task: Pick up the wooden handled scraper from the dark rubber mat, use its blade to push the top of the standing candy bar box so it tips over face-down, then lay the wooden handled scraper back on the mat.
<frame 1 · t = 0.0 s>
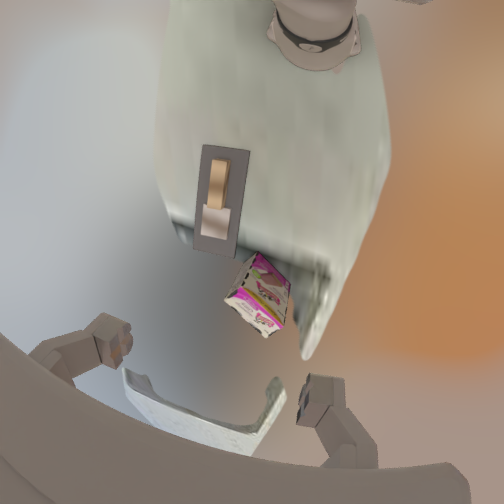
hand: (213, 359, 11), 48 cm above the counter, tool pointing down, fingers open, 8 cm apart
candy bar box: (267, 272, 64), on the counter
wooden handled scraper: (218, 205, 59), point 1 cm above the counter, touching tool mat
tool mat: (219, 202, 59), on the counter
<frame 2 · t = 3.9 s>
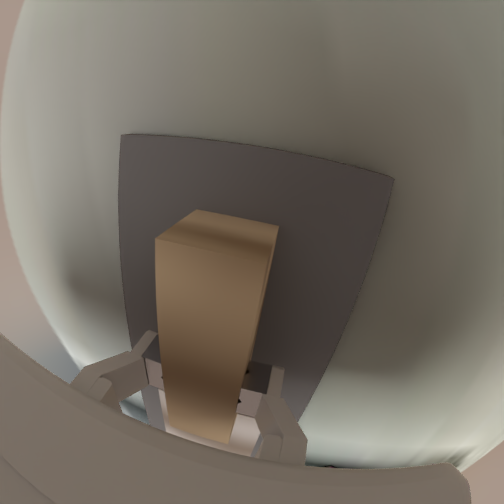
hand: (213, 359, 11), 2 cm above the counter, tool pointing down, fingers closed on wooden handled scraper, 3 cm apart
wooden handled scraper: (215, 393, 14), point 1 cm above the counter, touching gripper, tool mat
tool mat: (218, 380, 14), on the counter
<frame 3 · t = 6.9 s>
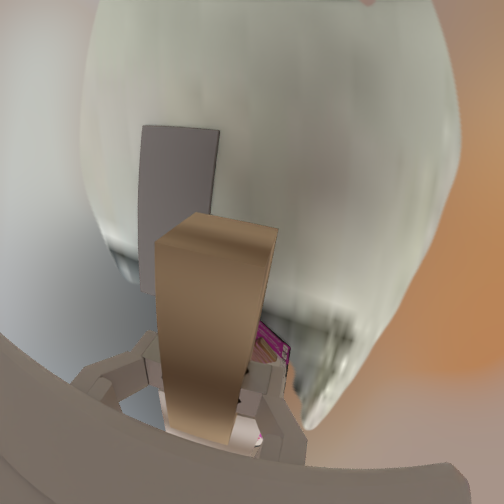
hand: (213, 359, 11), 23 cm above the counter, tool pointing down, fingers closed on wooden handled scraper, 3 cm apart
candy bar box: (254, 330, 39), on the counter
wooden handled scraper: (215, 394, 14), point 22 cm above the counter, touching gripper
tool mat: (172, 221, 35), on the counter
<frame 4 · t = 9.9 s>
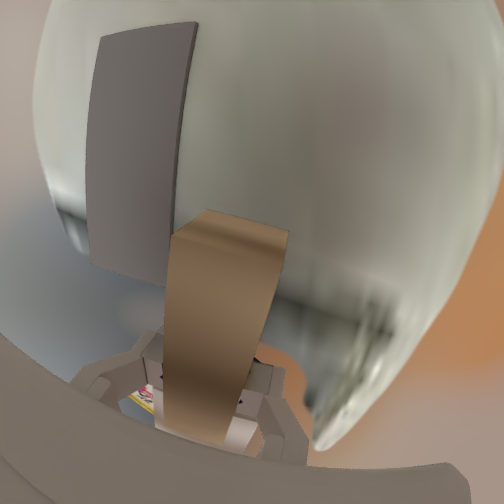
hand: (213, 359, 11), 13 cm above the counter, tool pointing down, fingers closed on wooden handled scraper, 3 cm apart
candy bar box: (225, 351, 25), point 3 cm above the counter
wooden handled scraper: (209, 394, 14), point 12 cm above the counter, touching gripper
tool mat: (128, 155, 22), on the counter
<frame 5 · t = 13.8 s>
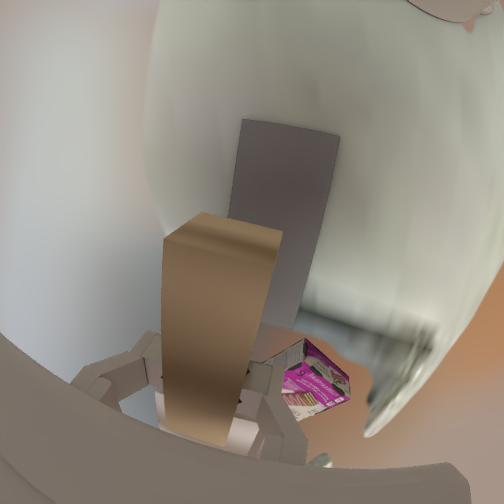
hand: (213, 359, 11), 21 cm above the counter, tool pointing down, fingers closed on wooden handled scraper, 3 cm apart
candy bar box: (330, 369, 34), point 3 cm above the counter
wooden handled scraper: (211, 396, 14), point 20 cm above the counter, touching gripper
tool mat: (271, 234, 31), on the counter
when the fingers open (3 cm above the counter, at t = 17.1 s): wooden handled scraper drops 2 cm, resting on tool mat.
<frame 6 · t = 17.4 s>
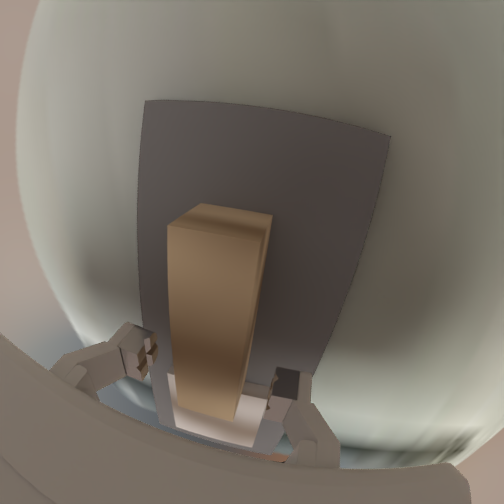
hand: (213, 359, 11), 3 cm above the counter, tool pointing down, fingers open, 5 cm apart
wooden handled scraper: (220, 375, 15), point 1 cm above the counter, touching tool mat
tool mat: (227, 344, 15), on the counter
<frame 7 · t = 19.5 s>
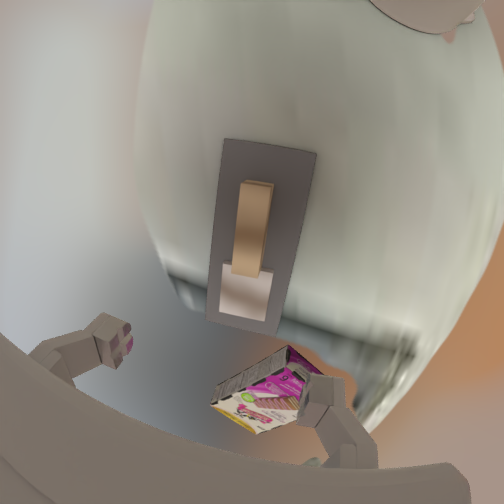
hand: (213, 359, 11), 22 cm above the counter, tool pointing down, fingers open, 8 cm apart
candy bar box: (313, 374, 36), point 3 cm above the counter
wooden handled scraper: (249, 264, 33), point 1 cm above the counter, touching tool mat
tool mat: (253, 246, 33), on the counter
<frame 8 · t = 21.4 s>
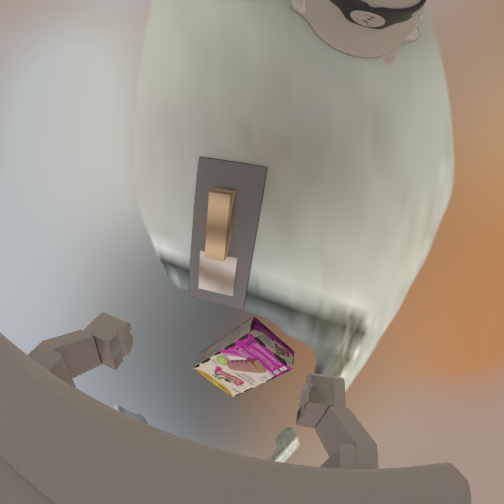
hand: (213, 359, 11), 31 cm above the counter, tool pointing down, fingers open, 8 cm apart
candy bar box: (274, 342, 47), point 3 cm above the counter
wooden handled scraper: (220, 251, 44), point 1 cm above the counter, touching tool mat
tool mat: (223, 238, 43), on the counter
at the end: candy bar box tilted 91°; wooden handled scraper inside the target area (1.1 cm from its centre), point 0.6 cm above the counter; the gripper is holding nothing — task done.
